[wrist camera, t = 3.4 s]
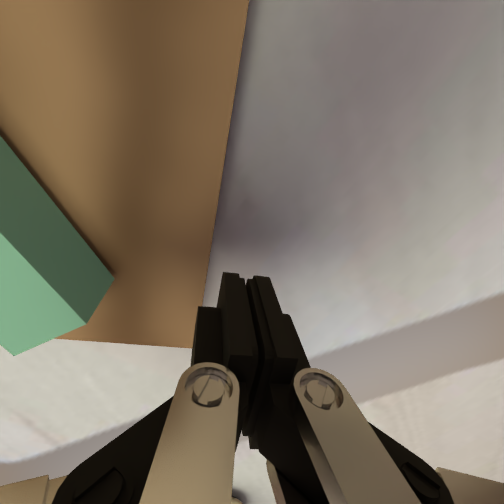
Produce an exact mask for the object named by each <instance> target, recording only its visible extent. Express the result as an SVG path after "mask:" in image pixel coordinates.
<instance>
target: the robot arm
mask: <svg viewBox="0 0 504 504" xmlns="http://www.w3.org/2000/svg"><path fill="white" fill-rule="evenodd" d="M241 430H242V434H243V436H248V437H249V446H250V449H259V452H260V453H261V454H262V455H263V456H264V457H265V458H266V459H267V462H266V465H267V472H268V475H269V479H270V482H271V486H272V489H273V493H274V496H275V500H276V503H277V504H504V483H500V482H496V481H492V480H488V479H484V478H480V477H476V476H472V475H468V474H464V473H460V472H456V471H452V470H448V469H444V468H440V467H437V468H436V470H434V469H433V468H432V467H431V466H429V465H428V464H427V463H426V462H425V461H423V460H422V459H421V458H419V457H418V456H416V455H415V454H414V453H412V452H411V451H409V450H408V449H406V448H405V447H404V446H402V445H401V444H399V443H398V442H396V441H395V440H394V439H392V438H391V437H389V436H388V435H386V434H385V433H383V432H382V431H381V430H379V429H378V428H376V427H375V426H373V425H372V424H371V423H369V422H368V421H367V420H366V418H365V417H364V415H363V414H362V412H361V411H360V409H359V408H358V406H357V405H356V403H355V402H354V400H353V399H352V397H351V395H350V394H349V392H348V391H347V389H346V388H345V387H344V385H343V384H342V383H341V382H340V381H339V380H338V379H337V378H336V377H335V376H333V375H332V374H330V373H328V372H326V371H324V370H321V369H317V368H311V367H310V365H309V362H308V360H307V357H306V354H305V352H304V349H303V347H302V344H301V342H300V339H299V337H298V334H297V332H296V329H295V327H294V324H293V322H292V319H291V317H290V315H288V314H283V313H282V310H281V308H280V305H279V302H278V299H277V297H276V294H275V291H274V288H273V286H272V283H271V280H270V278H269V277H263V276H253V279H248V280H247V283H246V285H245V280H244V278H240V277H239V274H237V273H228V272H223V275H222V280H221V286H220V291H219V297H218V303H217V308H214V307H203V306H198V310H197V316H196V323H195V330H194V338H193V347H192V358H191V367H189V368H188V369H187V370H186V371H185V372H184V373H183V374H182V376H181V377H180V379H179V382H178V385H177V388H176V391H175V394H174V396H173V397H171V398H170V399H169V400H167V401H166V402H165V403H163V404H162V405H161V406H159V407H158V408H156V409H155V410H154V411H152V412H151V413H150V414H148V415H147V416H145V417H144V418H143V419H141V420H140V421H139V422H137V423H136V424H134V425H133V426H132V427H130V428H129V429H128V430H126V431H125V432H124V433H122V434H121V435H119V436H118V437H117V438H115V439H114V440H113V441H111V442H110V443H108V444H107V445H106V446H104V447H103V448H102V449H100V450H99V451H97V452H96V453H95V454H93V455H92V456H91V457H89V458H88V459H87V460H85V461H84V462H82V463H81V464H80V465H79V466H77V467H76V468H75V469H74V470H73V471H72V472H71V473H70V474H69V475H67V476H63V477H59V478H55V479H51V480H49V475H45V476H40V477H36V478H32V479H28V480H24V481H20V482H16V483H12V484H7V485H3V486H0V504H231V497H232V483H233V470H234V457H235V452H236V448H237V445H238V441H239V437H240V434H241Z"/></svg>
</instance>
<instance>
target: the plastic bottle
mask: <svg viewBox="0 0 504 504" xmlns="http://www.w3.org/2000/svg"><path fill="white" fill-rule="evenodd" d="M231 504H243V503H242V502H241V501H240V500H238V499H236V498H233V497H231Z"/></svg>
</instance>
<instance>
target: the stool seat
mask: <svg viewBox="0 0 504 504" xmlns="http://www.w3.org/2000/svg"><path fill="white" fill-rule="evenodd" d="M248 4H249V0H0V136H1V137H2V138H3V140H4V141H5V142H6V143H7V145H8V146H9V147H10V148H11V150H12V151H13V152H14V153H15V155H16V156H17V157H18V158H19V160H20V161H21V162H22V163H23V165H24V166H25V167H26V168H27V170H28V171H29V172H30V173H31V175H32V176H33V177H34V178H35V180H36V181H37V182H38V183H39V185H40V186H41V187H42V188H43V190H44V191H45V192H46V193H47V195H48V196H49V197H50V198H51V200H52V201H53V202H54V203H55V205H56V206H57V207H58V208H59V210H60V211H61V212H62V213H63V215H64V216H65V217H66V218H67V220H68V221H69V222H70V223H71V225H72V226H73V227H74V228H75V230H76V231H77V232H78V233H79V235H80V236H81V237H82V238H83V240H84V241H85V242H86V243H87V245H88V246H89V247H90V248H91V250H92V251H93V252H94V253H95V255H96V256H97V257H98V258H99V260H100V261H101V262H102V263H103V265H104V266H105V267H106V268H107V270H108V271H109V272H110V273H111V275H112V276H113V277H114V278H115V279H114V281H113V282H112V284H111V286H110V287H109V289H108V290H107V292H106V294H105V295H104V297H103V299H102V300H101V302H100V303H99V305H98V307H97V308H96V310H95V311H94V313H93V315H92V316H91V318H90V319H89V321H88V323H87V324H86V325H83V326H81V327H79V328H77V329H74V330H72V331H70V332H68V333H65V334H63V335H61V336H58V337H56V338H54V339H68V340H82V341H96V342H110V343H124V344H138V345H152V346H166V347H180V348H192V347H193V338H194V330H195V323H196V316H197V310H198V306H202V302H203V296H204V289H205V283H206V276H207V270H208V263H209V257H210V250H211V244H212V237H213V231H214V225H215V218H216V212H217V205H218V199H219V192H220V186H221V179H222V173H223V166H224V160H225V153H226V147H227V140H228V134H229V127H230V121H231V114H232V108H233V102H234V95H235V89H236V82H237V76H238V69H239V63H240V56H241V50H242V43H243V37H244V30H245V24H246V17H247V11H248Z"/></svg>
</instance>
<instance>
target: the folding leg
mask: <svg viewBox="0 0 504 504" xmlns="http://www.w3.org/2000/svg"><path fill="white" fill-rule="evenodd" d="M114 279H115V278H114V277H113V276H112V275H111V273H110V272H109V271H108V270H107V268H106V267H105V266H104V265H103V263H102V262H101V261H100V260H99V258H98V257H97V256H96V255H95V253H94V252H93V251H92V250H91V248H90V247H89V246H88V245H87V243H86V242H85V241H84V240H83V238H82V237H81V236H80V235H79V233H78V232H77V231H76V230H75V228H74V227H73V226H72V225H71V223H70V222H69V221H68V220H67V218H66V217H65V216H64V215H63V213H62V212H61V211H60V210H59V208H58V207H57V206H56V205H55V203H54V202H53V201H52V200H51V198H50V197H49V196H48V195H47V193H46V192H45V191H44V190H43V188H42V187H41V186H40V185H39V183H38V182H37V181H36V180H35V178H34V177H33V176H32V175H31V173H30V172H29V171H28V170H27V168H26V167H25V166H24V165H23V163H22V162H21V161H20V160H19V158H18V157H17V156H16V155H15V153H14V152H13V151H12V150H11V148H10V147H9V146H8V145H7V143H6V142H5V141H4V140H3V138H2V137H1V136H0V345H1V346H3V347H4V348H5V349H6V350H7V351H8V352H10V353H11V354H12V355H13V356H15V355H17V354H20V353H22V352H24V351H27V350H29V349H31V348H33V347H36V346H38V345H40V344H42V343H45V342H47V341H49V340H52V339H54V338H56V337H58V336H61V335H63V334H65V333H68V332H70V331H72V330H74V329H77V328H79V327H81V326H83V325H86V324H87V323H88V321H89V319H90V318H91V316H92V315H93V313H94V311H95V310H96V308H97V307H98V305H99V303H100V302H101V300H102V299H103V297H104V295H105V294H106V292H107V290H108V289H109V287H110V286H111V284H112V282H113V281H114Z"/></svg>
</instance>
